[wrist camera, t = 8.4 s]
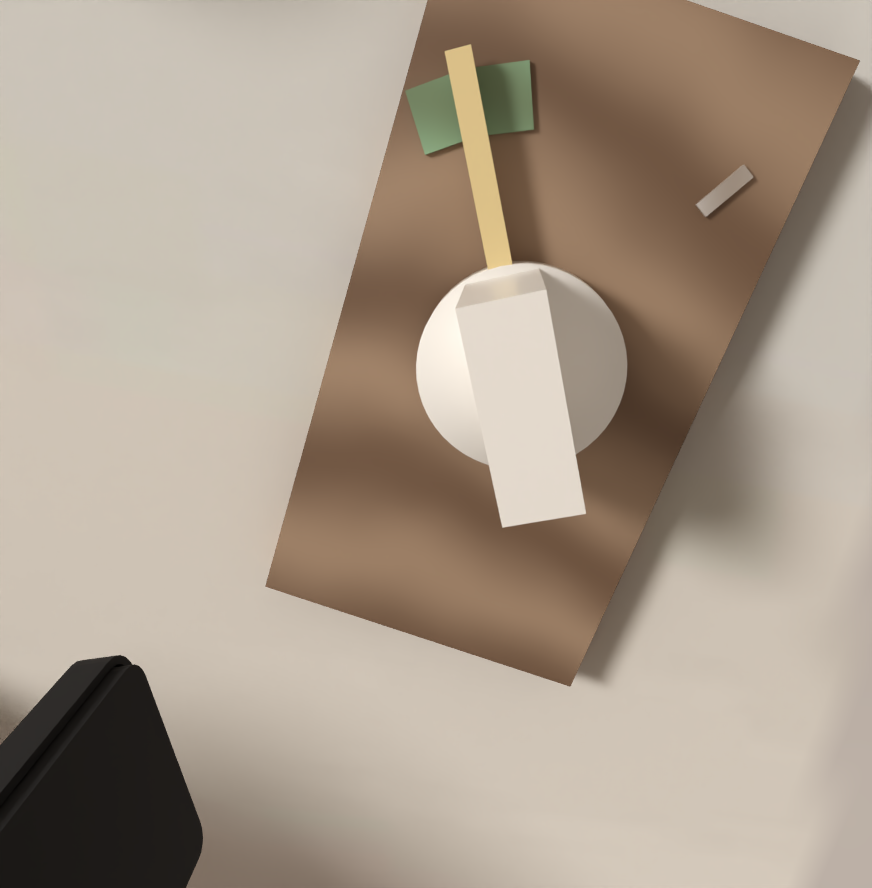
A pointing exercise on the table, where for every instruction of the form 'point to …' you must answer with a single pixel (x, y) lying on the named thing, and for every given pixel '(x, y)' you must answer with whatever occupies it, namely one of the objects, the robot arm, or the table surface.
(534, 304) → the knob
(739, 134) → the dial board
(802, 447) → the table surface
